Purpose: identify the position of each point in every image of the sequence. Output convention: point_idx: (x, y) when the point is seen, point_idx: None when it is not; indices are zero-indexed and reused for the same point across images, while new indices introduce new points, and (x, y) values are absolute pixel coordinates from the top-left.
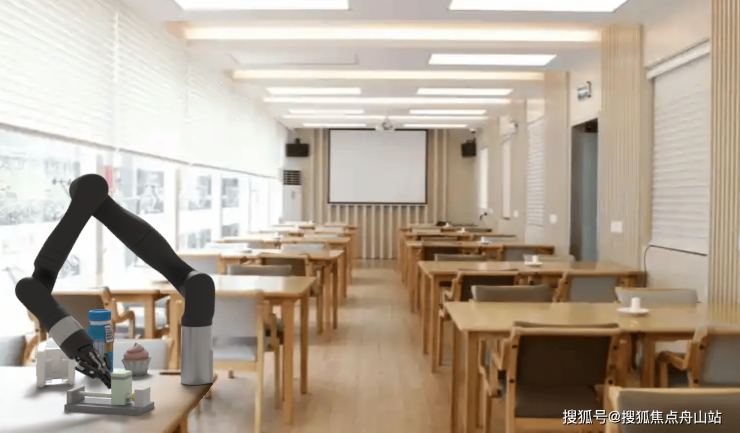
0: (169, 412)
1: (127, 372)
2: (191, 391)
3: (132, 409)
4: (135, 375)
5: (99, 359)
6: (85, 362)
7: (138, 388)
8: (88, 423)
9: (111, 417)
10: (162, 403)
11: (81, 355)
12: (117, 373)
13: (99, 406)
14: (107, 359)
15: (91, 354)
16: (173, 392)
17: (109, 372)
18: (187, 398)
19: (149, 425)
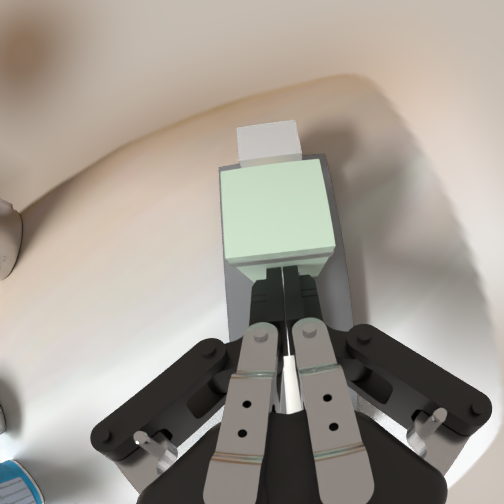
0: (259, 113)
1: (274, 165)
2: (59, 198)
3: (329, 174)
4: (1, 409)
5: (266, 419)
6: (448, 414)
7: (277, 149)
8: (447, 254)
9: (375, 229)
10: (173, 184)
11: (435, 495)
12: (325, 202)
13: (345, 309)
14: (150, 405)
15: (348, 478)
16: (68, 234)
17: (17, 465)
18: (116, 160)
19: (381, 100)
